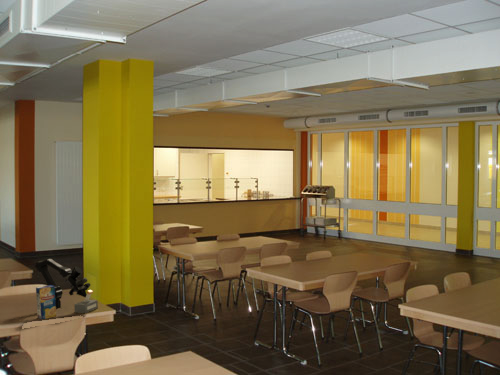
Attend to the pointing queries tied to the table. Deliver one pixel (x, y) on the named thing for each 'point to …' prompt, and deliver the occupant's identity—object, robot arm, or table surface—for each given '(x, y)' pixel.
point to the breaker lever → (88, 295)
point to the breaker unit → (86, 306)
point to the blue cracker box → (46, 302)
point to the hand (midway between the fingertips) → (86, 297)
